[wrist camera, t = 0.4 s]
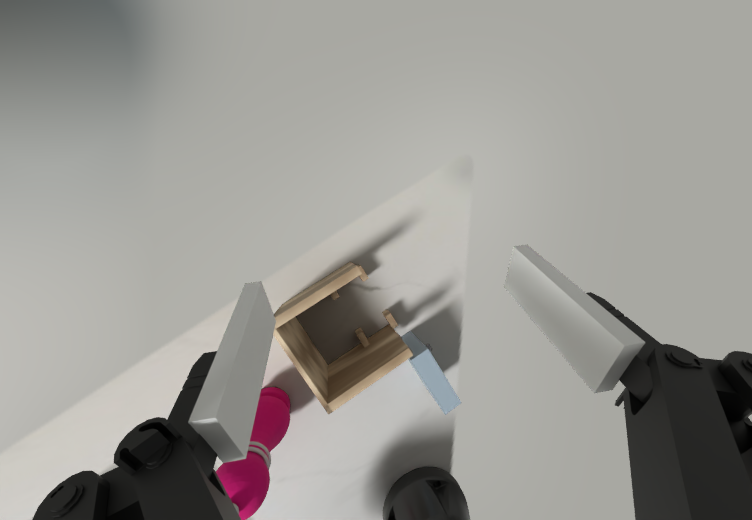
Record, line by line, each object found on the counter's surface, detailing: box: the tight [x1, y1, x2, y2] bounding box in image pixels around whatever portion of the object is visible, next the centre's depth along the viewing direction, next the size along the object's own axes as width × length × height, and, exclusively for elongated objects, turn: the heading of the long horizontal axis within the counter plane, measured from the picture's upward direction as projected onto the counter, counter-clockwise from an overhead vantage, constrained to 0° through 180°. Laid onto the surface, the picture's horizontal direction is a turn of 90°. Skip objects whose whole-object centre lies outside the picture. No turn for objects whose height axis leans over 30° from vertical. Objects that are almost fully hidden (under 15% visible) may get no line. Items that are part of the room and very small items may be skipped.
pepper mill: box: [216, 387, 290, 520], centre depth 36 cm, size 7×7×20 cm
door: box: [401, 331, 461, 415], centre depth 45 cm, size 10×4×9 cm, turn 32°
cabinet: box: [273, 262, 413, 414], centre depth 41 cm, size 15×14×12 cm
